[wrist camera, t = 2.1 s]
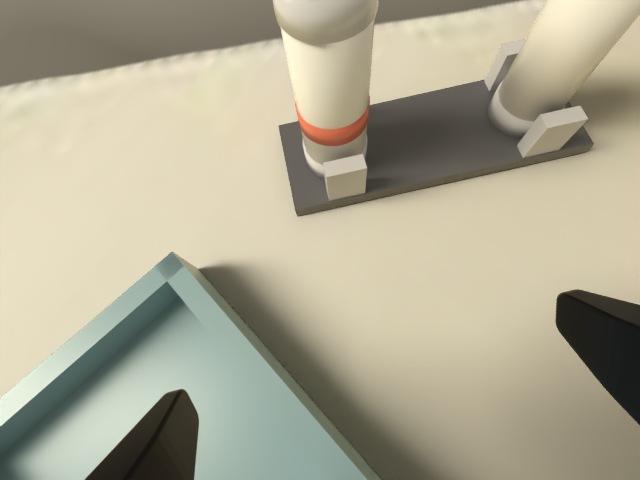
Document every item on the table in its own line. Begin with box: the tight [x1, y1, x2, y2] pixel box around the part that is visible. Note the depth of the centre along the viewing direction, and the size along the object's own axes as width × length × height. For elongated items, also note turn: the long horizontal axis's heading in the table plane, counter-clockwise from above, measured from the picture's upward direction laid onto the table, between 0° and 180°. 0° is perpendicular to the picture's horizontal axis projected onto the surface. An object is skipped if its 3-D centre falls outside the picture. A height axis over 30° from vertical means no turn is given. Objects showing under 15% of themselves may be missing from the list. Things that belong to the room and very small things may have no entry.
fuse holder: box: [279, 39, 594, 216], centre depth 23 cm, size 7×20×4 cm, turn 102°
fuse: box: [488, 0, 640, 139], centre depth 18 cm, size 4×4×12 cm
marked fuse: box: [273, 0, 378, 180], centre depth 18 cm, size 4×4×12 cm
